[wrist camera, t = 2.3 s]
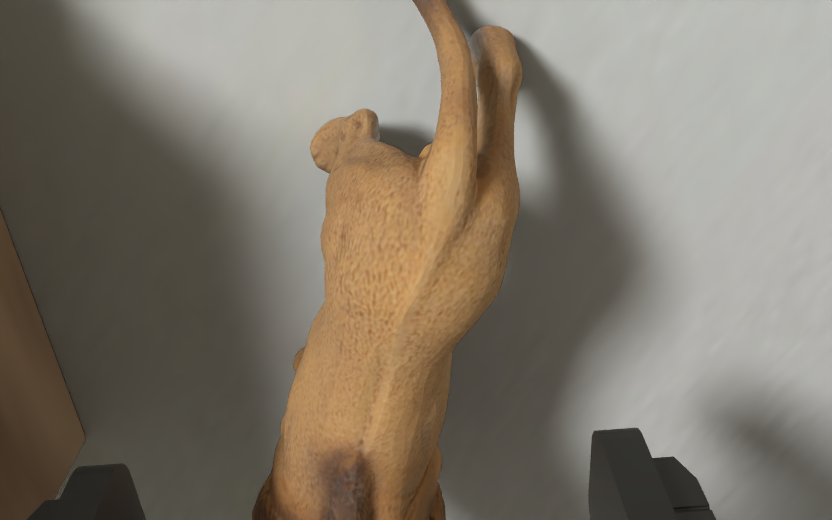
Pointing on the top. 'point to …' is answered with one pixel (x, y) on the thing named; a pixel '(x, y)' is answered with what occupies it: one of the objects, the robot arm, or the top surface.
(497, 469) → the top surface
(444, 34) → the lion figurine
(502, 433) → the top surface
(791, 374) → the top surface
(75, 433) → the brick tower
